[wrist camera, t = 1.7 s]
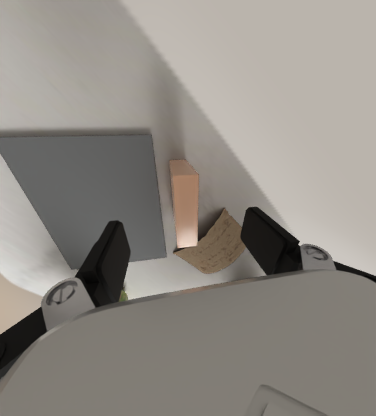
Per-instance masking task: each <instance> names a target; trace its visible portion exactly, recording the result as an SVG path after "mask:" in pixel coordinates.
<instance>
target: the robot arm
mask: <svg viewBox="0 0 376 416" xmlns="http://www.w3.org/2000/svg"><path fill="white" fill-rule="evenodd" d="M240 238H241V240H242V242H243V243H244V245H245V246H246V247H247V249H248V250H249V251H250V253H251V254H252V256H253V257H254V258H255V260H256V261H257V263H258V264H259V265H260V267H261V268H262V269H263V271H264V272H265V274H266V275H267V276H261V277H255V278H249V279H243V280H237V281H231V282H226V283H220V284H214V285H208V286H203V287H197V288H191V289H186V290H180V291H174V292H169V293H163V294H158V295H152V296H147V297H141V298H136V299H131V300H126V301H121V302H119V299H120V295H121V291H122V287H123V283H124V279H125V275H126V271H127V267H128V263H129V259H130V255H131V250H130V246H129V243H128V240H127V236H126V233H125V230H124V226H123V223H122V222H120V221H119V220H114V221H109V222H108V224H107V225H106V227H105V229H104V231H103V232H102V234H101V236H100V238H99V239H98V241H97V242H96V243H95V244H94V245H93V247H92V249H91V250H90V252H89V254H88V256H87V257H86V259H85V261H84V262H83V264H82V266H81V268H80V269H79V271H78V273H77V274H76V276H75V278H68V279H65V280H63V281H61V282H59V283H57V284H56V285H54V286H53V287H52V288H51V289H50V290H49V291H48V292H47V293H46V294H45V295H44V297H43V299H42V302H41V307H40V308H38V309H37V310H36V311H34V312H33V313H31V314H30V315H28V316H27V317H25V318H24V319H22V320H21V321H20V322H18V323H17V324H15V325H14V326H12V327H11V328H9V329H8V330H6V331H5V332H3V333H2V334H0V416H376V276H374V275H371V274H368V273H366V272H363V271H360V270H357V269H354V268H352V267H349V266H346V265H343V264H340V263H338V262H335V261H333V260H332V257H331V256H330V254H329V253H328V252H326V251H325V250H324V249H322V248H320V247H318V246H315V245H311V244H303V245H301V246H299V245H298V244H299V242H300V241H299V240H297V239H296V238H295V237H294V236H293V235H291V234H290V233H289V232H288V231H286V230H285V229H284V228H283V227H281V226H280V225H279V224H278V223H276V222H275V221H274V220H273V219H271V218H270V217H269V216H268V215H267V214H265V213H264V212H263V211H262V210H260V209H259V208H258V207H249V208H248V209H247V210H246V213H245V217H244V222H243V226H242V230H241V235H240Z"/></svg>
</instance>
